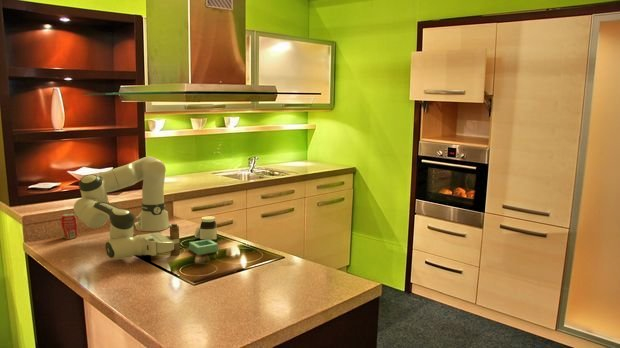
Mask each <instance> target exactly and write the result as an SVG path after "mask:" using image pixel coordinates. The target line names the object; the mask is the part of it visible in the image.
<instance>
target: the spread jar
mask: <svg viewBox="0 0 620 348" xmlns="http://www.w3.org/2000/svg"><path fill="white" fill-rule="evenodd" d="M200 221H201V222H200V225H199V226H198V227H197V228H196V229H195V231H194V237H195V238H197V239H200V241H201V240H206V239H210V240H212V241H214V242H216V241H217V238H218V237H217V236H218V227H217V226H218V225H217V224H218V223H217V222H216V216H211V215H210V216H209V215H208V216H202V217H201V220H200Z"/></svg>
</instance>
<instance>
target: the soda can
mask: <svg viewBox="0 0 620 348" xmlns="http://www.w3.org/2000/svg"><path fill="white" fill-rule="evenodd" d="M77 218H78V217H77V215H76V214H75V212H74V213H71V212H70V213H64V214H62V215H61V218H60V219H61V220H60V223H61V224H60V225H61V235H62V238H64V239H66V240H71V239H72V240H73V239H74V238H75V239H76V238H77V237H78V233H79V231H78V221H77V220H78V219H77Z"/></svg>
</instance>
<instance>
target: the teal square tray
mask: <svg viewBox="0 0 620 348" xmlns="http://www.w3.org/2000/svg"><path fill="white" fill-rule="evenodd" d="M188 243H189V245H188V247H189V249H188V250H189V251H191V252H192V251H193V252H192V253H194V254H196V255H197V256H200V255H206V254H211V253H217V252H219V243H217V242H216V241H212V240H210V239H206V240H201V239H200V240H196V241H189V242H188Z"/></svg>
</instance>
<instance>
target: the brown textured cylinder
mask: <svg viewBox="0 0 620 348" xmlns="http://www.w3.org/2000/svg"><path fill="white" fill-rule="evenodd" d="M169 236H170V240H174V239H177V238H178V239H179V240H180V226H179V225H178V224H177V223H171V226H170V227H169ZM180 245H181V244H180V242H179V243H176V244H174V250H172V251H170V255H171V256H172V255H173V256H174V257H175V256H179V254H180V255H181V248H180Z"/></svg>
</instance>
